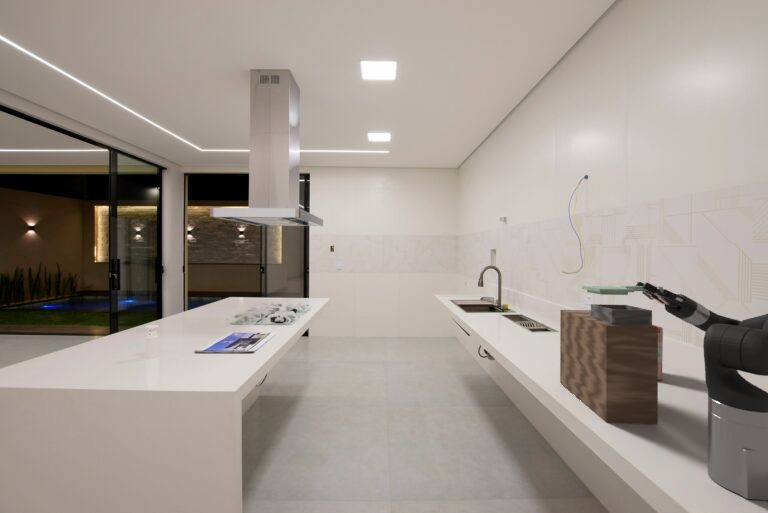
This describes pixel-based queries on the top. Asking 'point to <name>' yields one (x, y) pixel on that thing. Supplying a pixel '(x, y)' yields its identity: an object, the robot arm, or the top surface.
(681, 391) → the top surface
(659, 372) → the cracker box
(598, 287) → the green t-shaped block
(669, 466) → the top surface
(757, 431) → the robot arm
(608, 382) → the cabinet
